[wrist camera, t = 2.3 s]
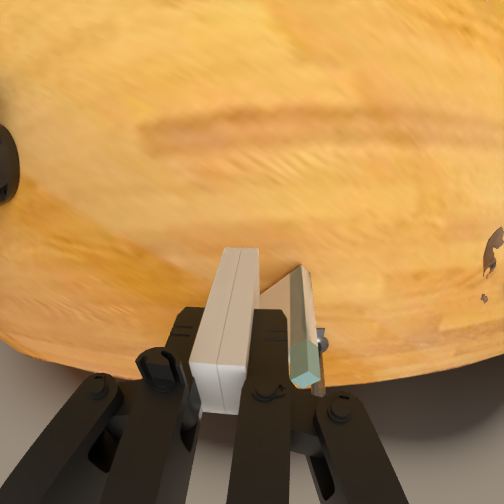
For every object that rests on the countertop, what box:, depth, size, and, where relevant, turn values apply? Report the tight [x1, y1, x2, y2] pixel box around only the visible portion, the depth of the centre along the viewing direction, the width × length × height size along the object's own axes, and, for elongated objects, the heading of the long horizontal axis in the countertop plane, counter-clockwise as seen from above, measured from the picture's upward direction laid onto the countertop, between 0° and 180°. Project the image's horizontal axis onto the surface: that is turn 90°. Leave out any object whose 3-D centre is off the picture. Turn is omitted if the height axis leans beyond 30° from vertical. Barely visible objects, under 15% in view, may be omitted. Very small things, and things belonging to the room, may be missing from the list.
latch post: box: [311, 337, 328, 397], centre depth 38 cm, size 4×4×18 cm
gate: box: [199, 265, 321, 419], centre depth 34 cm, size 19×2×17 cm, turn 135°
